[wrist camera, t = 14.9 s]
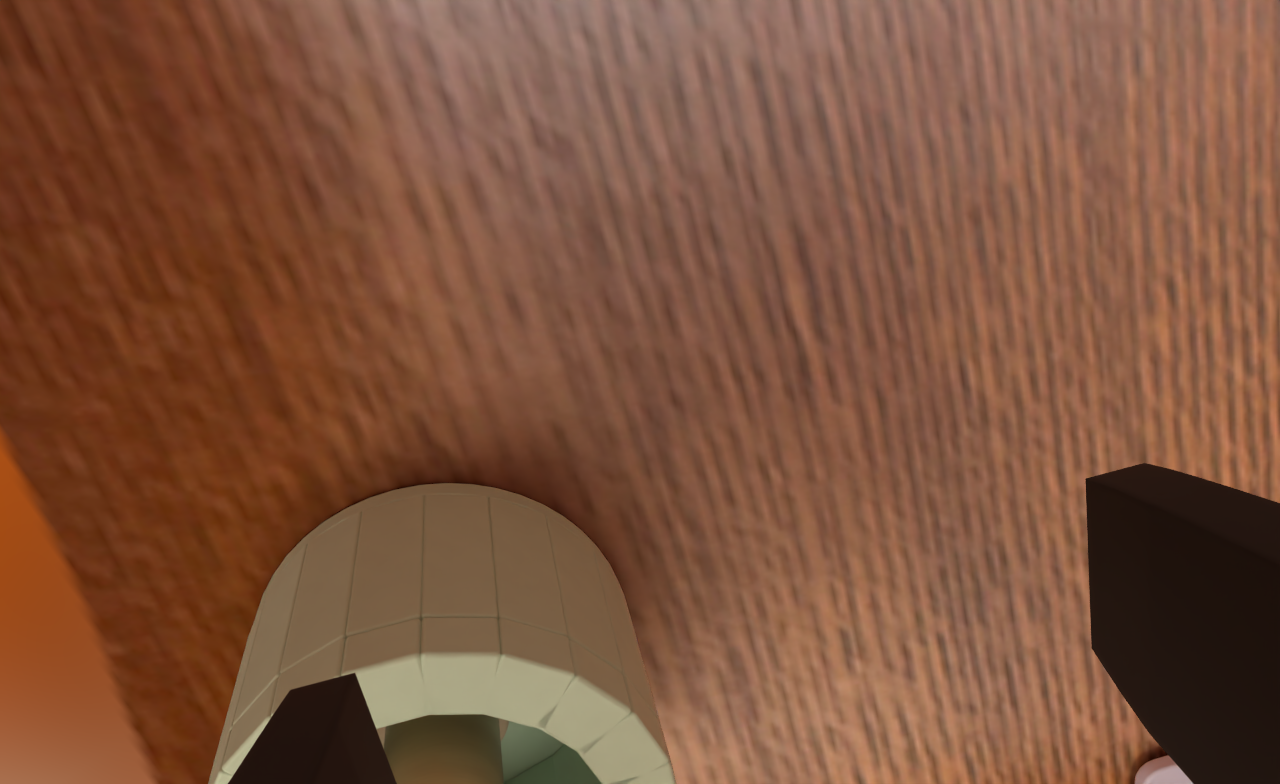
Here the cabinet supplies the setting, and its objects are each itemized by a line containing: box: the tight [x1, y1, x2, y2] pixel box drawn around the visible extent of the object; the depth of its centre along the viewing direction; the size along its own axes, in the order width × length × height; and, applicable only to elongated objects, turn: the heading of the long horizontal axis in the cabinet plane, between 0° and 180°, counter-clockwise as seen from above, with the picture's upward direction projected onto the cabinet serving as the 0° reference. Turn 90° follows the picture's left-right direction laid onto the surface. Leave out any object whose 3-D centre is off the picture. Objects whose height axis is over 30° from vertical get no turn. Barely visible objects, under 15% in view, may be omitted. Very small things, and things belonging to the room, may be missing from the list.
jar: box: [208, 483, 676, 784], centre depth 20 cm, size 7×7×6 cm
